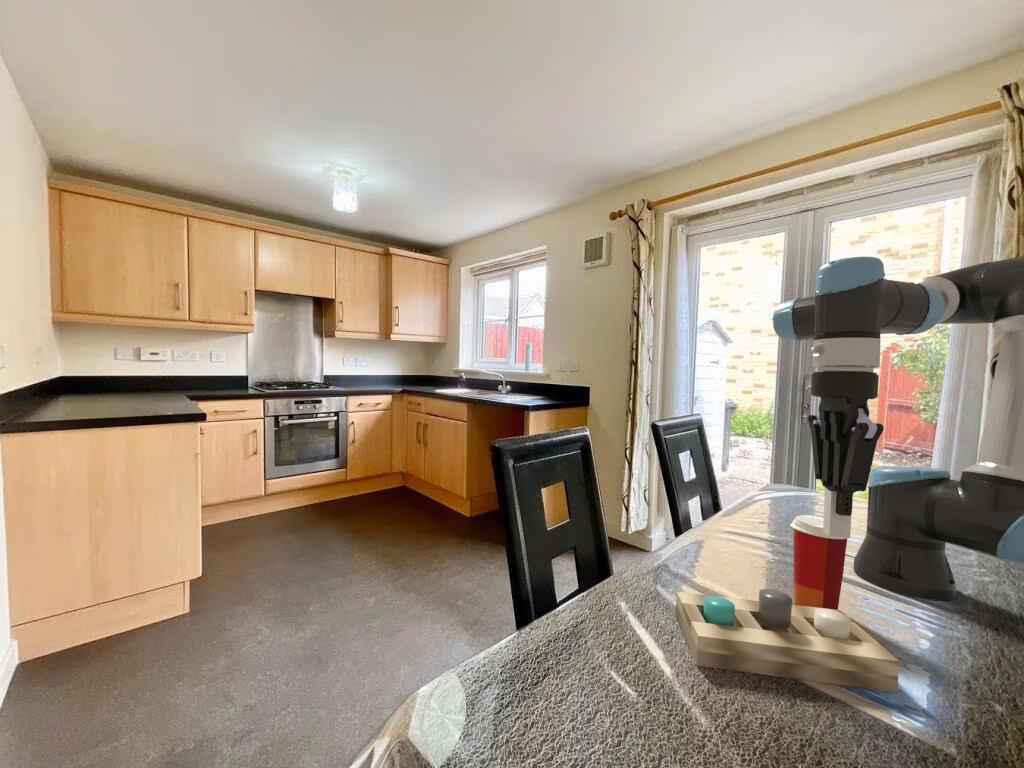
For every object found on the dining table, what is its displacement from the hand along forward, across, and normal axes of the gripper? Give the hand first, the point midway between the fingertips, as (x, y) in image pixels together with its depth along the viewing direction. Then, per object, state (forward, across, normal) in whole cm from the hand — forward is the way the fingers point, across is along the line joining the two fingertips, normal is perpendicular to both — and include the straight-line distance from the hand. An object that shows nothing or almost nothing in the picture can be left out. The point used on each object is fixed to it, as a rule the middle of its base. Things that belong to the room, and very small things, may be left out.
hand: (836, 535), depth 61 cm
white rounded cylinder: (+15, +1, -1) cm, 15 cm away
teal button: (+14, +1, -16) cm, 21 cm away
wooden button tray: (+17, +1, -8) cm, 19 cm away
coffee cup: (+17, -13, +5) cm, 22 cm away
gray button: (+13, +1, -8) cm, 15 cm away
